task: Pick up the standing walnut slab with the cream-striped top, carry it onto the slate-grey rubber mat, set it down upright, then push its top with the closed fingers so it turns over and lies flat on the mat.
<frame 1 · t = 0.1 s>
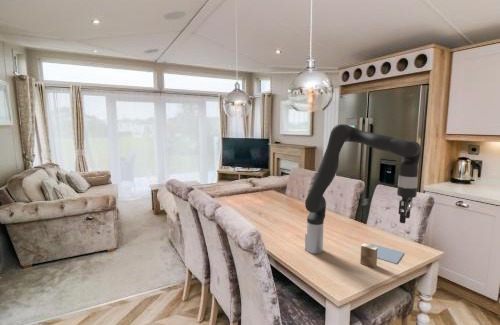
hand: (404, 220, 121), 29 cm above the table, fingers open, 8 cm apart
mat: (382, 253, 150), on the table
slab: (368, 264, 138), on the table
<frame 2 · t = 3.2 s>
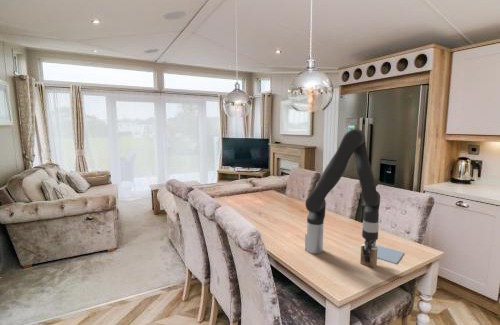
hand: (368, 260, 138), 2 cm above the table, fingers closed on slab, 3 cm apart
slab: (368, 264, 138), on the table, touching gripper
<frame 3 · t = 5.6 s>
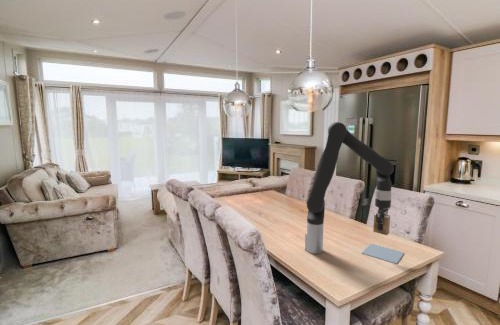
hand: (381, 228, 143), 16 cm above the table, fingers closed on slab, 3 cm apart
slab: (381, 232, 144), point 14 cm above the table, touching gripper
when the fingers open (4 cm above the table, at t = 8.1 s): slab drops 1 cm, resting on mat.
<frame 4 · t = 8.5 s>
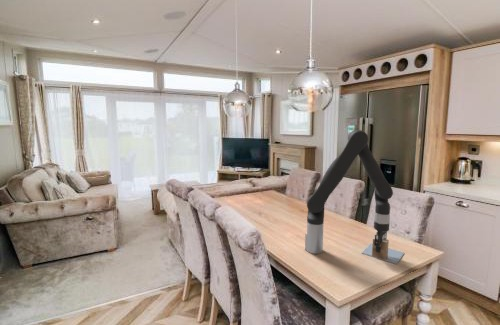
hand: (380, 249, 145), 4 cm above the table, fingers open, 7 cm apart
slab: (379, 256, 145), resting on mat
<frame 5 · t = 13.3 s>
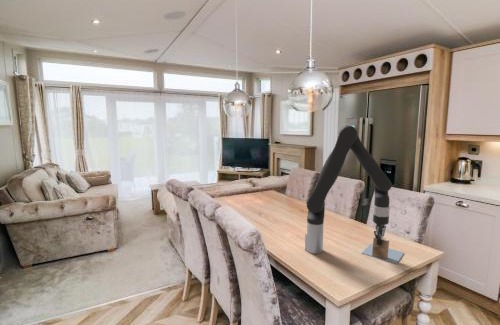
hand: (379, 244, 142), 8 cm above the table, fingers closed
slab: (379, 256, 145), point 1 cm above the table, tilted 7°, touching mat
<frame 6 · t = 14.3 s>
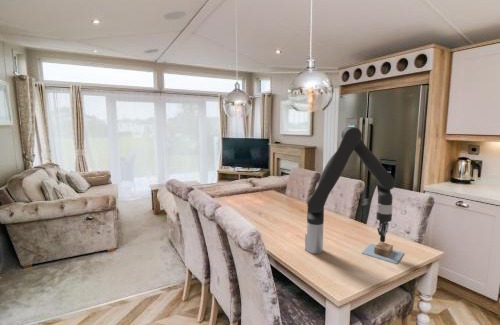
hand: (382, 241, 146), 8 cm above the table, fingers closed
slab: (380, 252, 147), point 2 cm above the table, tilted 90°, touching mat
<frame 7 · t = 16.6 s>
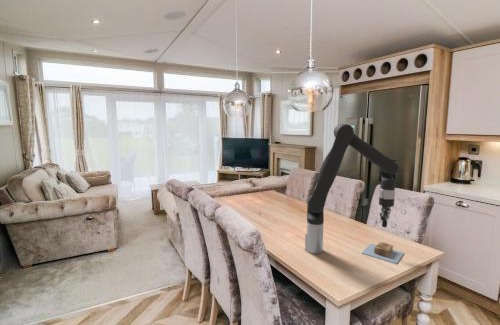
hand: (384, 226, 148), 16 cm above the table, fingers closed
nothing on the table moved.
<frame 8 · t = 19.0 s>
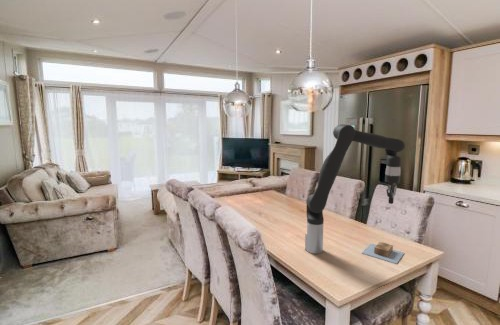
hand: (390, 203, 154), 27 cm above the table, fingers closed
nothing on the table moved.
at the end: slab tilted 90°; slab inside the target area (5.1 cm from its centre), point 2.2 cm above the table; the gripper is holding nothing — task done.
